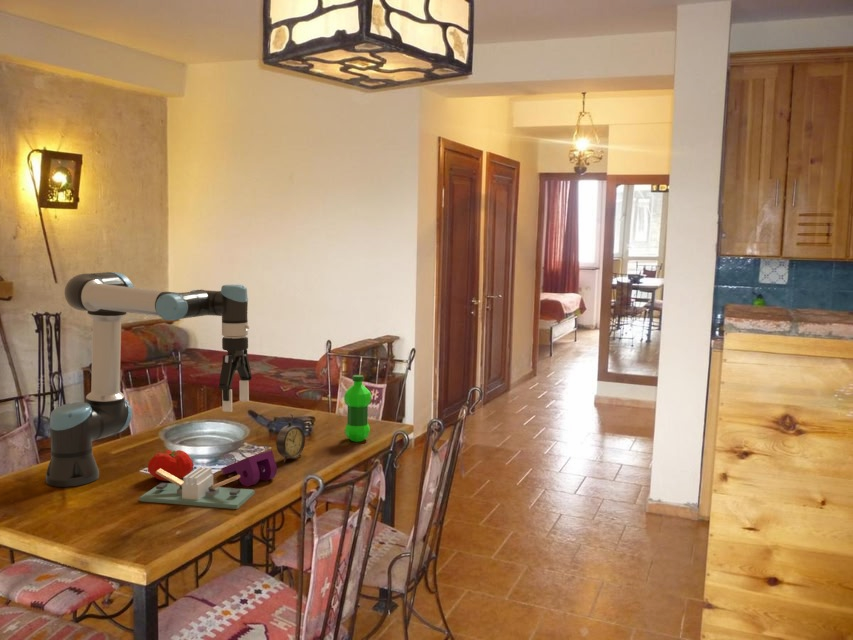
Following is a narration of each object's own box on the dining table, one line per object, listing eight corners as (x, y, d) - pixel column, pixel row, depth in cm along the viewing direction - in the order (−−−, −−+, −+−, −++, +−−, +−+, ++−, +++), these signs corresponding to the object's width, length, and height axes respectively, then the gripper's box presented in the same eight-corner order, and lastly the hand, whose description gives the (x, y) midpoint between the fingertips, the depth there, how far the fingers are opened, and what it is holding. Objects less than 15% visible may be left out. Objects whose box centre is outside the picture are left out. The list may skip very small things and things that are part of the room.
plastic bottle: (365, 444, 278) (366, 379, 275) (339, 441, 281) (340, 377, 278) (374, 437, 287) (375, 374, 285) (349, 435, 290) (350, 372, 287)
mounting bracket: (223, 495, 237) (256, 483, 227) (215, 470, 238) (248, 457, 228) (246, 488, 245) (279, 475, 234) (239, 463, 246) (271, 450, 235)
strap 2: (209, 491, 217) (207, 487, 216) (213, 488, 219) (211, 484, 219) (237, 480, 215) (235, 476, 215) (241, 477, 217) (239, 473, 217)
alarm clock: (285, 464, 251) (285, 418, 250) (273, 462, 254) (273, 416, 252) (305, 456, 261) (306, 412, 259) (294, 454, 264) (294, 409, 262)
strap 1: (154, 473, 219) (156, 470, 218) (159, 471, 221) (160, 467, 221) (182, 489, 218) (184, 485, 218) (186, 486, 220) (188, 482, 220)
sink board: (139, 501, 215) (138, 475, 214) (161, 486, 227) (161, 462, 226) (237, 509, 210) (237, 483, 209) (254, 493, 223) (254, 469, 222)
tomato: (195, 470, 243) (195, 444, 242) (192, 483, 231) (192, 456, 230) (151, 472, 240) (150, 446, 239) (146, 485, 228) (145, 458, 227)
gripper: (231, 342, 207) (232, 416, 210) (261, 331, 232) (262, 397, 234) (205, 341, 208) (207, 415, 211) (238, 331, 233) (239, 396, 235)
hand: (236, 406), depth 222 cm, fingers open, 13 cm apart
